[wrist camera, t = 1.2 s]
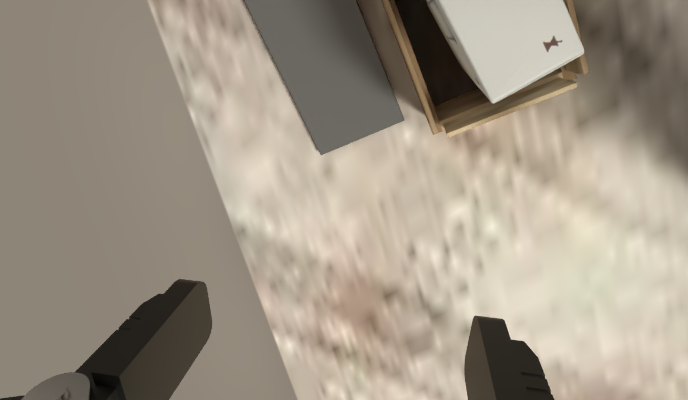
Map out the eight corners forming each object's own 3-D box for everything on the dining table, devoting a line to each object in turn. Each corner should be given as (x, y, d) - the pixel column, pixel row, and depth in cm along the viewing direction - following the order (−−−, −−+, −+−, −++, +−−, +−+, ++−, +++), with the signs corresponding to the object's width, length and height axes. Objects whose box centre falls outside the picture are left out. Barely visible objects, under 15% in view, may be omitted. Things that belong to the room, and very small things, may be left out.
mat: (281, -185, 29) (279, -189, 28) (404, 119, 36) (404, 120, 36) (190, -116, 31) (186, -118, 31) (322, 153, 39) (320, 155, 39)
